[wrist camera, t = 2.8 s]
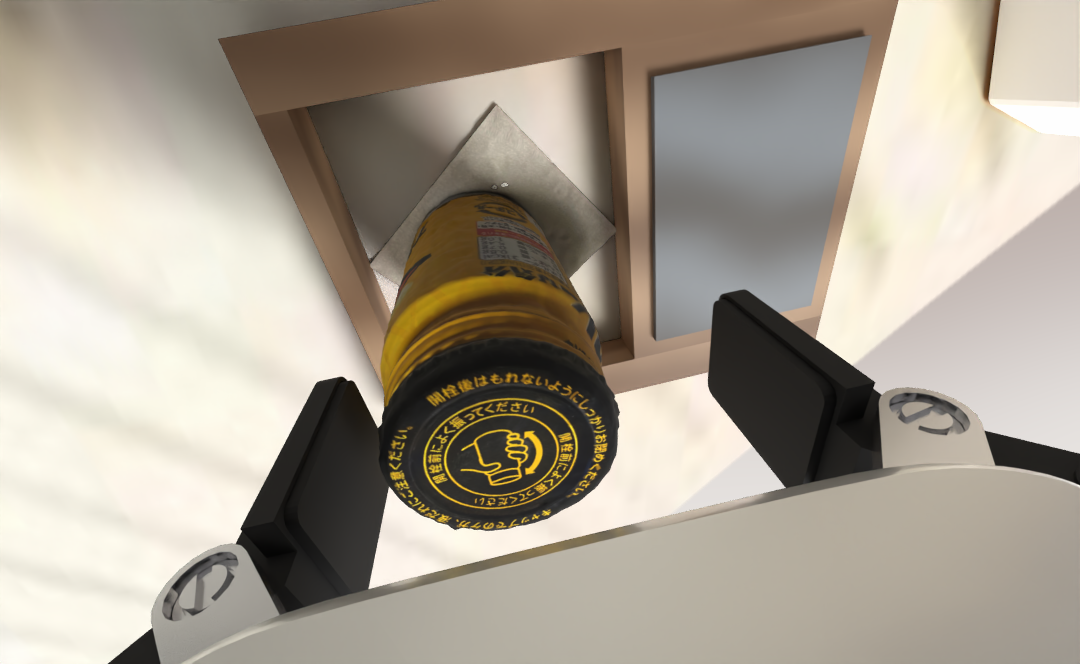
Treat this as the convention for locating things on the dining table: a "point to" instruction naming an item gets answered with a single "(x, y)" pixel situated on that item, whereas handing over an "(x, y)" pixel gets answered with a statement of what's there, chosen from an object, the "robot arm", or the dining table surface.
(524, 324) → the condiment
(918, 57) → the dining table surface
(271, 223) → the dining table surface
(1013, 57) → the cup
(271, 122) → the pocket board
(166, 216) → the dining table surface
